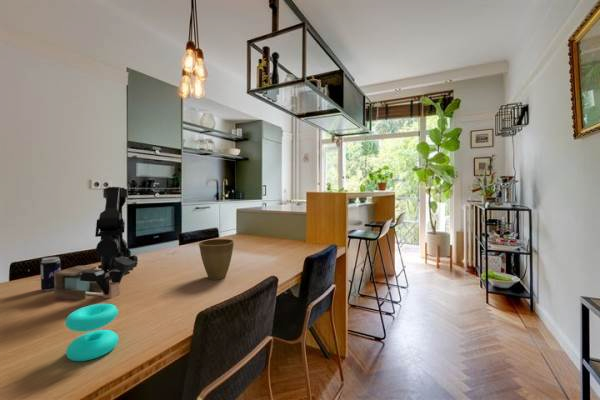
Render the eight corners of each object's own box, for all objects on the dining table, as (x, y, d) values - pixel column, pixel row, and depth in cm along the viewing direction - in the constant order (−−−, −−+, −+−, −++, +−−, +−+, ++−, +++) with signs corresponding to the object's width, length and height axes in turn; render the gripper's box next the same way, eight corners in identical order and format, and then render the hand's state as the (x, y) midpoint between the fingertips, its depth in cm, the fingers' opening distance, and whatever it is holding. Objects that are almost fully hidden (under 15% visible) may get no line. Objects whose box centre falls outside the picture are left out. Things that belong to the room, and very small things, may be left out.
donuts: (100, 299, 72) (127, 305, 68) (101, 336, 72) (127, 344, 68) (55, 315, 62) (82, 323, 59) (56, 357, 63) (83, 368, 59)
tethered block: (78, 290, 104) (77, 273, 103) (121, 293, 101) (120, 276, 101) (65, 295, 99) (64, 277, 98) (109, 299, 96) (109, 280, 96)
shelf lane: (78, 288, 106) (78, 265, 106) (105, 290, 104) (105, 267, 104) (54, 297, 97) (54, 272, 97) (83, 299, 95) (83, 274, 95)
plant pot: (221, 270, 132) (221, 237, 131) (240, 276, 122) (240, 241, 122) (192, 277, 120) (192, 241, 120) (211, 285, 111) (211, 246, 110)
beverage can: (49, 292, 102) (48, 260, 101) (37, 291, 103) (36, 259, 102) (64, 287, 107) (64, 257, 107) (53, 285, 108) (52, 256, 108)
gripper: (108, 257, 88) (108, 305, 88) (148, 246, 106) (149, 285, 107) (78, 255, 89) (79, 302, 90) (123, 244, 108) (124, 283, 108)
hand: (111, 292), depth 99 cm, fingers closed on tethered block, 3 cm apart
